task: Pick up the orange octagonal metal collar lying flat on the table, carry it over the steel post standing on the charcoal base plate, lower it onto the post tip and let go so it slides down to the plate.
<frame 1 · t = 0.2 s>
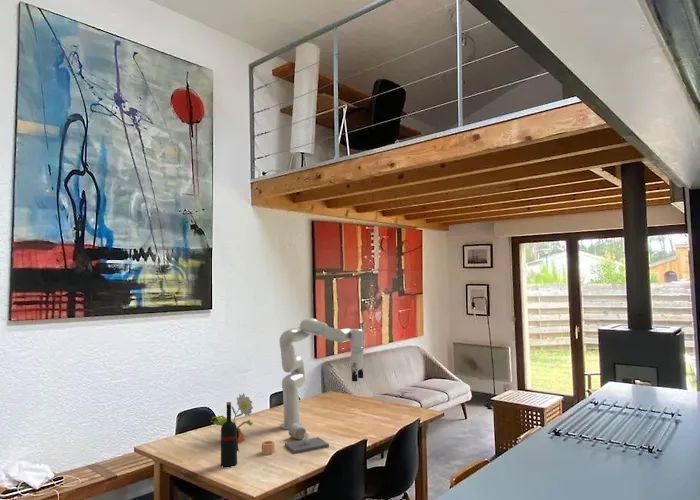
hand: (357, 379, 282), 31 cm above the table, tool pointing down, fingers open, 9 cm apart
wine bottle: (230, 464, 237), on the table
post base: (306, 446, 260), on the table
collar: (268, 452, 252), on the table
decorative plant: (229, 441, 271), on the table
ceramic mug: (299, 438, 275), on the table
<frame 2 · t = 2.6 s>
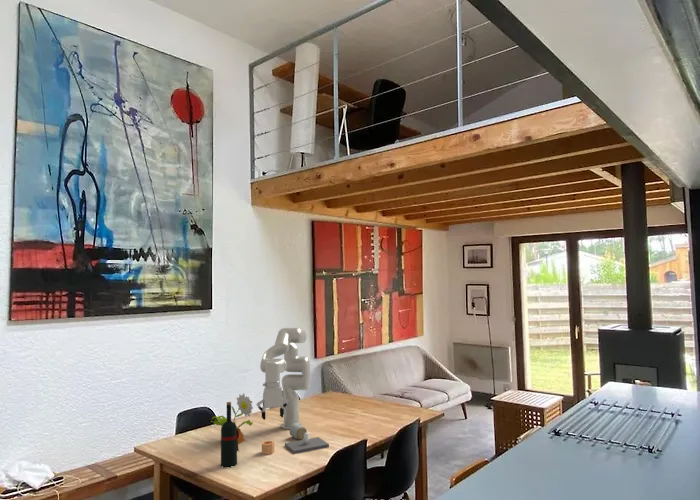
hand: (272, 417, 254), 17 cm above the table, tool pointing down, fingers open, 9 cm apart
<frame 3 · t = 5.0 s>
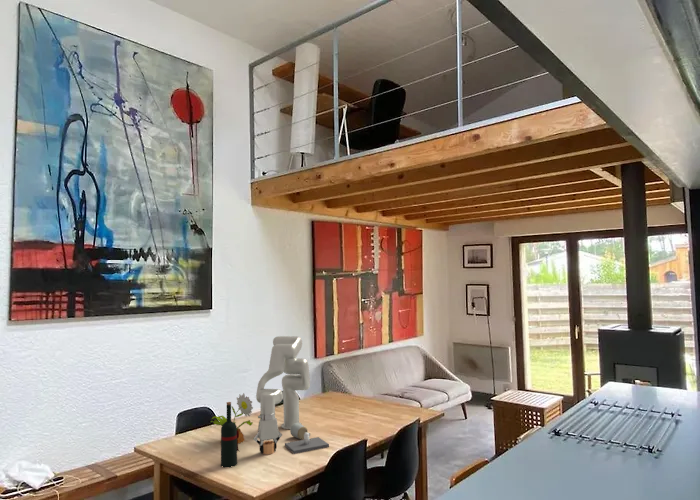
hand: (268, 451, 252), 1 cm above the table, tool pointing down, fingers closed on collar, 6 cm apart
collar: (268, 452, 252), on the table, touching gripper
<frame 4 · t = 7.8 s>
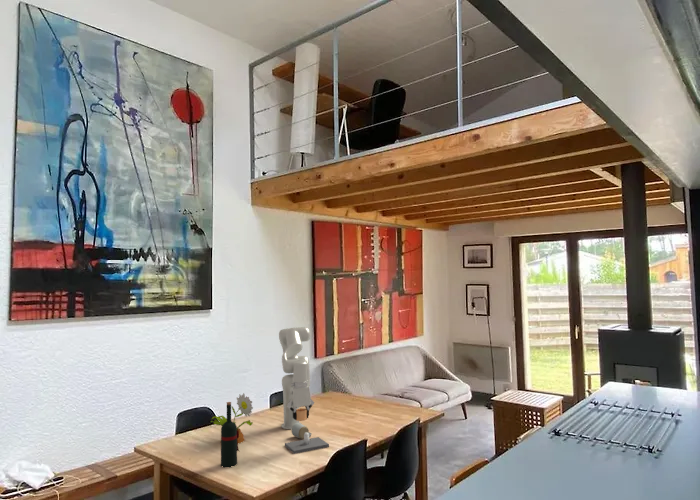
hand: (300, 418, 260), 15 cm above the table, tool pointing down, fingers closed on collar, 6 cm apart
collar: (300, 419, 260), point 15 cm above the table, touching gripper
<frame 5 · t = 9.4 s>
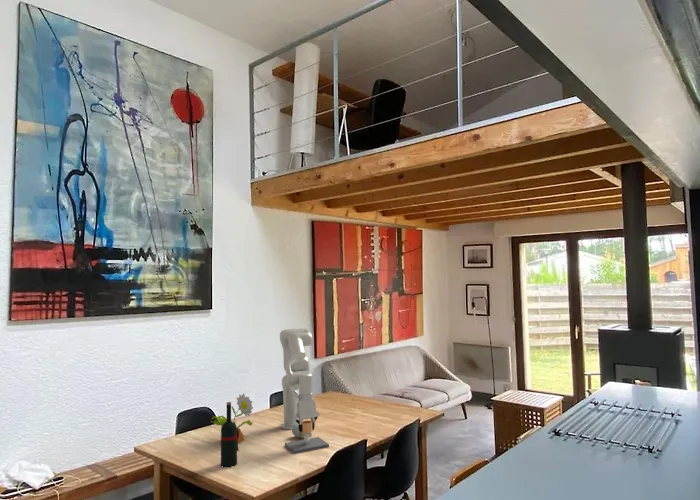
hand: (306, 430, 260), 9 cm above the table, tool pointing down, fingers closed on collar, 6 cm apart
collar: (306, 431, 260), point 8 cm above the table, touching gripper
when the fingers open (5 cm above the table, at t = 10.4 s): collar drops 3 cm, resting on post base.
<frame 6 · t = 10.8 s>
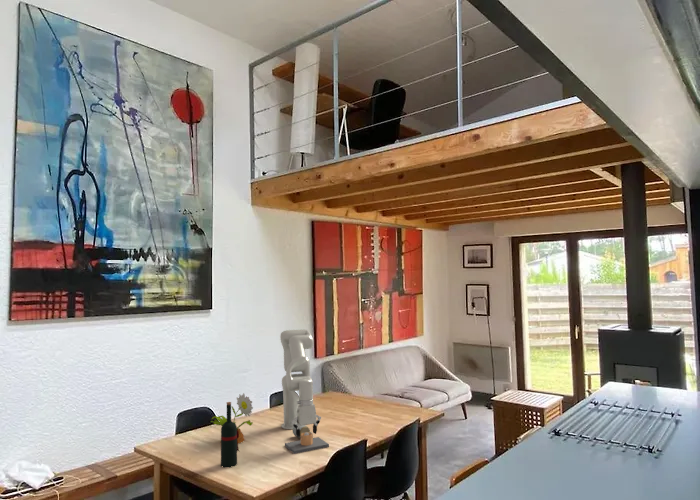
hand: (306, 434, 260), 6 cm above the table, tool pointing down, fingers open, 9 cm apart
collar: (306, 443, 260), point 1 cm above the table, touching post base
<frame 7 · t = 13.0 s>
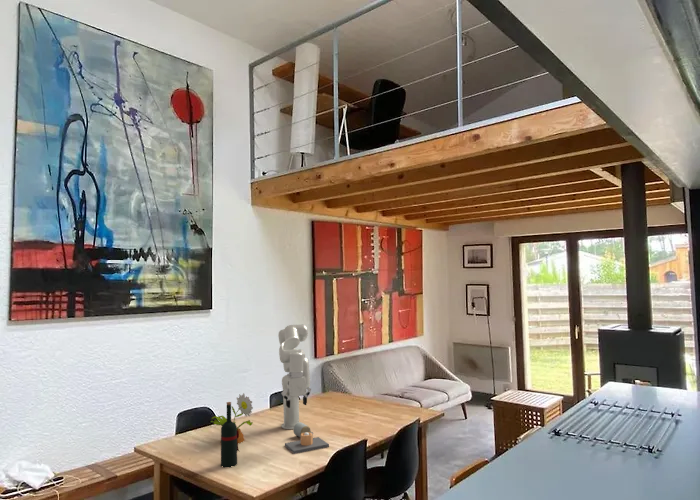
hand: (296, 405, 265), 21 cm above the table, tool pointing down, fingers open, 9 cm apart
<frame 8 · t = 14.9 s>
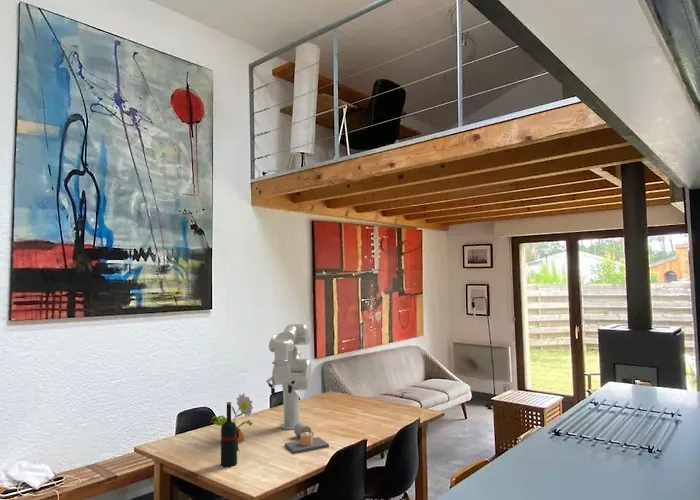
hand: (281, 394, 270), 26 cm above the table, tool pointing down, fingers open, 9 cm apart
at the end: collar 0.0 cm from the post base (horizontally); collar point 1.5 cm above the table; the gripper is holding nothing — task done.
